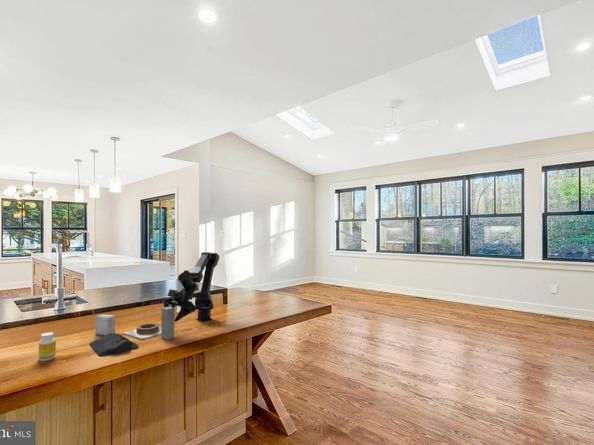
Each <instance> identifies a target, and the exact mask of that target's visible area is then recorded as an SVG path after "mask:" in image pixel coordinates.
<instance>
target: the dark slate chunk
mask: <svg viewBox="0 0 594 445" xmlns="http://www.w3.org/2000/svg"><path fill="white" fill-rule="evenodd" d="M89 346H90V348H91V349H92V350H93V351H94V353H95V354H96V355H97V357H104V358H105V357H110V356H113V355H114V356H115V355H118V354H119V355H120V354H123V353H127V352H128V353H129V352H130V351H133V350H135V349H138V348H139V346H140V345H138V344H137V343H136V342H133V341H132V340H130V339H129V338H127V337H126V336H124V335H122V334H120V333H114V334H107V335H103V336H101V337H100V338H97V339H95V340H93V341H90V343H89Z"/></svg>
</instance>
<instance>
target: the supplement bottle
mask: <svg viewBox="0 0 594 445" xmlns="http://www.w3.org/2000/svg"><path fill="white" fill-rule="evenodd" d="M54 336H55V333H54V332H44V333H42V334H41V335H40V340H38V356H37V359H38V361H42V362H45V361H50V360H52V359H54V358H55V357H56V348H57V347H56V342H57V341H56V338H55V337H54Z"/></svg>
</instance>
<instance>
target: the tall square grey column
mask: <svg viewBox="0 0 594 445" xmlns="http://www.w3.org/2000/svg"><path fill="white" fill-rule="evenodd" d="M161 316H162V318H161V326H160V327H161V336H160V337H161V339H163V340H165V341H166V340H170V339H173V338H175V321H174V320H175V307H165V308H164V307H162V308H161Z"/></svg>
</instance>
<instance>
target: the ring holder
mask: <svg viewBox="0 0 594 445" xmlns="http://www.w3.org/2000/svg"><path fill="white" fill-rule="evenodd" d="M122 334H123V335H126V336H128V337H131V338H134V339H137V340H138V341H139V340H140V341H143V340H146V339H150V338H152V337H156V336H160V335H161V326H160V325H159V323H156V322H155V323H154V322H149V323H143V324H139V325H137V326H136V328H134V329H131V330H127V331H124V332H123V331H122Z"/></svg>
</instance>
